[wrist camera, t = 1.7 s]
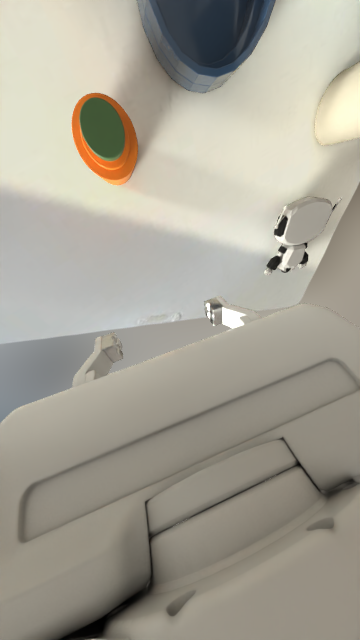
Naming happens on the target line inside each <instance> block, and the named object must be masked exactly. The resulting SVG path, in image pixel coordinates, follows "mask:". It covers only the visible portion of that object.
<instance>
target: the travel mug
mask: <svg viewBox="0 0 360 640" xmlns="http://www.w3.org/2000/svg"><path fill="white" fill-rule="evenodd" d="M315 134H316V138H317V140H318V142H319V143H320V144H322V145H325V146H327V145H332V144H336V143H340V142H344V141H349V140H353V139H357V138H360V62H358V63H356V64H355V65H353V66H351V67H349V68H348V69H346V70H344V71H342V72H341V73H340V74H338V75H337V76H336V77H335V78H334V79H333V81H332V82H331V83H330V85H329V86H328V88H327V89H326V91H325V93H324V95H323V97H322V99H321V101H320V104H319V107H318V110H317V114H316V119H315Z"/></svg>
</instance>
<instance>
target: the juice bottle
mask: <svg viewBox="0 0 360 640" xmlns="http://www.w3.org/2000/svg"><path fill="white" fill-rule="evenodd" d="M72 133H73V138H74V142H75V145H76V148H77V150H78V152H79V154H80V156H81V158H82V159H83V161H84V162H85V164H86V165H87V166H88V167H89V168H90V169H91V170H92V171H93V172H94V173H96V174H97V175H98V176H100V177H101V178H102V179H104V180H105V181H107V182H108V183H110V184H113V185H121V184H124V183H126V182H127V181H128V180H129V178H130V177H131V175H132V172H133V169H134V167H135V164H136V160H137V154H138V144H137V137H136V133H135V130H134V127H133V124H132V122H131V120H130V118H129V117H128V115H127V113H126V112H125V111H124V109H123V108H122V107H121V106H120V105H119V104H118V103H117V102H116V101H115V100H113V99H112V98H110V97H108V96H106V95H104V94H101V93H91V94H87V95H85V96H84V97H82V98H81V99H80V100H79V101H78V103H77V104H76V106H75V108H74V112H73V116H72Z"/></svg>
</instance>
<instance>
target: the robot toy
mask: <svg viewBox="0 0 360 640" xmlns="http://www.w3.org/2000/svg"><path fill="white" fill-rule="evenodd" d="M341 199H342V197H341V198H339V199H338V201H337V203H336V204H335V206H334V207H333V209H332V204H331V202H330V201H329V200H327V199H324V198H316V197H305V198H302V199H299V200H297V201H294V202H292V203H291V204H289V205H288V206H287V205H286V206H285V207H284V209H283V211H282V213H281V214H280V216H279V218H278V220H277V223H276V225H275V227H274V228H275V231H274V235H275V238H276V240H277V241H278V242H280V243H283V245H282V246H281V247H280V248H279V250H278V251H279V252H278V255H277V256H275V257H273V258H272V259H271V260H270V261H269V263H268V264H267V267H269V268H267V269H266V270H265V272H264V274H265V275H270V274H271V273H272V269H273V270H276V268H279V269H281V271H282V272H284V273H286V272H288V271H292V270H293V269H295V267H296V266H297V265H298V264H299V265H298V266H299V268H303V267H304V266H306V263H307V262H308V254H307V253H306V252H305V249H306V248H307V243H306V242H308V241H310V240H312V239H314V238H315V237H317V236H318V235H319V234H320V233H321V232H322V231H323V230H324V228H325V226H326V224H327V222H328V220H329V218H330V215H331V213H332V212H333V210H334V209H335V207H336V206H337V205H338V203H339V202H340V201H341Z"/></svg>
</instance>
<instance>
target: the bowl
mask: <svg viewBox="0 0 360 640" xmlns="http://www.w3.org/2000/svg"><path fill="white" fill-rule="evenodd" d="M275 1H276V0H137V2H138V7H139V11H140V15H141V19H142V24H143V27H144V30H145V32H146V35H147V37H148V39H149V42H150V44H151V46H152V49H153V51H154V53H155V56H156V58H157V59H158V61H159V62H160V64H161V65H162V66H163V68H164V69H165V70H166V72H167V73H168V74H169V76H170V77H171V79H173V80H174V81H175V82H177V83H178V84H180V85H181V86H182V87H184V88H185V89H187V90H188V91H194V92H200V93H206V92H209V91H211V90H214V89H216V88H219V87H221V86H222V85H223V84H224V83H225V82H226V81H227V80H228V79H229V78H230V77H231V76H232V75H233V74H234V73H235V72H236V70H237V69H238V68H239V67H240V66H241V65H242V64H243V63H244V62H245V60H246V59H247V58H248V57H249V56H250V55H251V54H252V52H253V50H254V49H255V47H256V45H257V43H258V41H259V40H260V38H261V36H262V34H263V33H264V31H265V29H266V27H267V24H268V22H269V19H270V16H271V13H272V10H273V7H274V4H275Z"/></svg>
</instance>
